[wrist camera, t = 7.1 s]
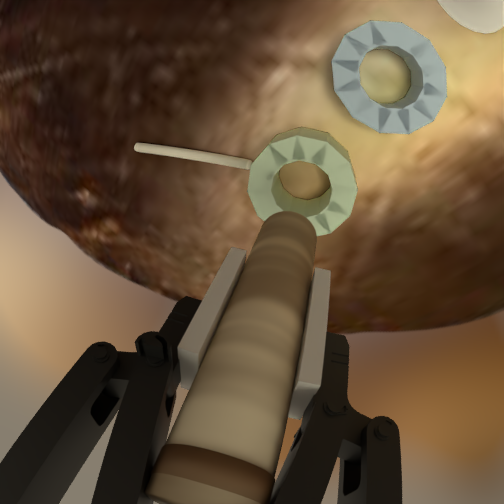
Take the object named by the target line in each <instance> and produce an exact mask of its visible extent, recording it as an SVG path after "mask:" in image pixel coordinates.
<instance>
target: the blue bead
mask: <svg viewBox="0 0 504 504" xmlns="http://www.w3.org/2000/svg"><path fill="white" fill-rule="evenodd" d="M373 49H386V50H390V51H392V52H394V53H395V54H397V55H399V56H400V57H402V58H403V60H404V61H405V63H406V64H407V66H408V68H409V69H410V72H411V87H410V88H409V90H408V92H407V94H406V96H405V97H404V98H402V99H400V100H399V101H397V102H395V103H393V104H389V103H377V102H375V101H374V100H372V99H370V98H369V96H368V95H367V93H366V92H365V90H364V89H363V87H362V86H361V84H360V72H359V66H360V64H361V62H362V61H363V59H364V57H365V55H366V53H367V52H369V51H371V50H373ZM331 63H332V72H333V82H334V91H335V92H336V94H337V95H338V96H339V98H340V99H341V101H342V102H343V104H344V105H345V107H346V108H347V110H348V111H349V113H350V114H351V116H352V117H353V118H355V119H356V120H358V121H360V122H362V123H364V124H365V125H367V126H369V127H370V128H372V129H374V130H376V131H377V132H379V133H397V134H410V133H412V132H414V131H416V130H418V129H419V128H421V127H423V126H425V125H427V124H429V123H431V122H433V121H434V119H435V117H436V116H437V114H438V112H439V110H440V109H441V107H442V105H443V103H444V101H445V99H446V98H447V82H446V67H445V65H444V63H443V62H442V60H441V58H440V56H439V55H438V53H437V51H436V50H435V48H434V47H433V45H432V43H431V42H430V40H429V39H427V38H426V37H424V36H423V35H421V34H420V33H418V32H416V31H415V30H413V29H412V28H410V27H408V26H407V25H405V24H403V23H402V22H401V23H400V22H387V21H369V22H367V23H365V24H363V25H362V26H360V27H358V28H356V29H354V30H352V31H351V32H349V33H347V34H345V35H344V37H343V39H342V41H341V43H340V45H339V47H338V49H337V51H336V53H335V55H334V57H333V59H332V61H331Z"/></svg>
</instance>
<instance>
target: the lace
mask: <svg viewBox="0 0 504 504" xmlns="http://www.w3.org/2000/svg"><path fill="white" fill-rule="evenodd" d="M134 149H135V151H137V152H144V153H151V154H158V155H165V156H172V157H178V158H184V159H191V160H197V161H203V162H208V163H214V164H220V165H225V166H231V167H236V168H241V169H246V170H249V169H250V168H251V164H252V163H253V162H252V161H251V160H249V159H244V158H239V157H233V156H228V155H222V154H216V153H210V152H204V151H198V150H191V149H184V148H177V147H170V146H163V145H155V144H147V143H136V144H135V146H134Z"/></svg>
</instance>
